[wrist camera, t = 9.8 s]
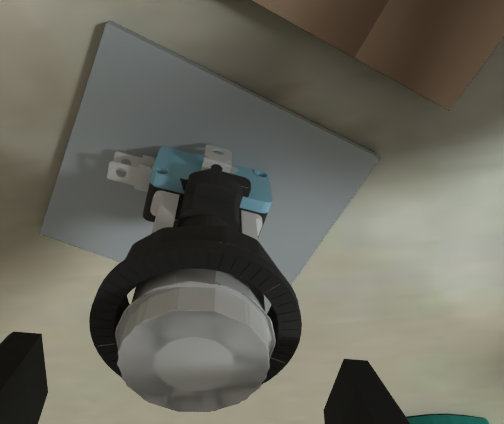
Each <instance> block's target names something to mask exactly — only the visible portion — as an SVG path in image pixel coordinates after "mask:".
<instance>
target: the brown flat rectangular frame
mask: <svg viewBox="0 0 504 424" xmlns="http://www.w3.org/2000/svg"><path fill="white" fill-rule="evenodd" d="M252 1H254V2H256V3H257V4H259V5H261V6H263V7H265V8H266V9H268V10H270V11H272V12H274V13H275V14H277V15H279V16H281V17H282V18H284V19H286V20H288V21H290V22H291V23H293V24H295V25H297V26H298V27H300V28H302V29H304V30H306V31H307V32H309V33H311V34H313V35H315V36H316V37H318V38H320V39H322V40H323V41H325V42H327V43H329V44H331V45H332V46H334V47H336V48H338V49H339V50H341V51H343V52H345V53H347V54H348V55H350V56H352V57H354V58H356V59H357V60H359V61H361V62H363V63H364V64H366V65H368V66H370V67H372V68H373V69H375V70H377V71H379V72H380V73H382V74H384V75H386V76H388V77H389V78H391V79H393V80H395V81H397V82H398V83H400V84H402V85H404V86H405V87H407V88H409V89H411V90H413V91H414V92H416V93H418V94H420V95H421V96H423V97H425V98H427V99H429V100H430V101H432V102H434V103H436V104H438V105H439V106H441V107H443V108H445V109H446V110H448V111H449V110H450V108H451V107H452V106H453V104H454V103H455V102H456V100H457V99H458V98H459V96H460V95H461V94H462V92H463V91H464V90H465V88H466V87H467V86H468V84H469V83H470V81H471V80H472V79H473V77H474V76H475V75H476V73H477V72H478V71H479V69H480V68H481V67H482V65H483V64H484V63H485V61H486V60H487V59H488V57H489V56H490V55H491V53H492V52H493V51H494V49H495V48H496V47H497V45H498V44H499V43H500V41H501V40H502V38H503V37H504V0H252Z"/></svg>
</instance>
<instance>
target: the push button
mask: <svg viewBox="0 0 504 424" xmlns="http://www.w3.org/2000/svg"><path fill="white" fill-rule="evenodd" d="M213 151H219V152H221V153H223V154H224V155H218V154H216V153H214V152H213ZM204 156H205V157H204ZM204 156H201V155H197V154H193V153H189V152H186V151H182V150H178V149H174V148H171V147H161V148H160V149H159V152H158V155H157V158H154V157H150V156H147V155H143V157H142V158H141V157H137V156H133V155H129V154H126V153H122V152H118V151H117V152H115V154H114V160H113V161H111V162H109V167H108V174H107V178H108V179H110V180H114V181H118V182H122V183H126V184H130V185H134V189H137V190H141V191H145V192H147V196H146V201H145V206H144V210H143V215H142V216H143V218H144V219H145V220H147V221H150V222H154V225H153V229H152V232H151V234H150V235H148V236H146V237H145V238H143V239H141V240H139V241H137V242H136V243H134V244H133V245H132V247H131V248H130V250H129V252H128V254H127V256H126V258H125V260H123V261H122V262H121V263H119V264H118V265H117V266H116V267H115V268H114V269H113V270H112V271H111V272H110V273H109V274H108V275H107V276H106V278H105V279H104V280H103V282H102V284H101V285H100V287H99V289H98V292H97V294H96V297H95V299H94V302H93V304H92V308H91V312H90V321H89V322H90V332H91V337H92V340H93V343H94V346H95V347H96V349H97V351H98V353H99V355H100V356H101V358H102V359H103V360H104V361H105V363H106V364H107V365H108V366H109V367H110V368H111V369H112V370H113V371H114V372H115V373H117V374H118V375H119V376H121V377H122V379H123V380H124V381H125V382H126V385H127V386H128V387H129V388H131V389H132V390H133V391H134V392H136V393H137V394H138V395H140V396H141V397H142V398H143V399H144V400H146V401H148V402H149V403H152V404H155V405H159V406H162V407H165V408H168V409H172V410H175V411H183V412H210V411H216V410H218V409H221V408H224V407H228V406H231V405H235V404H238V403H240V402H241V401H243V400H245V399H247V398H248V397H249V396H250V395H251V394H252V393H253V392H255V391H256V390H257V389H259V388H260V386H261V385H262V384H263V383H265V382H267V381H268V380H270V379H271V378H272V377H274V376H275V375H276V374H277V373H279V372H280V371H281V370H282V369H283V368H284V367H285V366H286V364H287V363H288V362H289V361H290V359H291V358H292V356H293V355H294V353H295V351H296V349H297V346H298V344H299V341H300V336H301V327H302V323H301V315H300V309H299V305H298V300H297V298H296V295H295V292H294V290H293V289H292V287H291V285H290V283H289V282H288V281H287V279H286V278H285V277H284V276H283V274H282V273H281V272H280V270H279V269H278V268H277V266H276V265H275V263H274V262H273V261H272V259H271V258H270V256H269V255H268V254H267V252H266V251H265V250H264V248H263V247H262V245H261V244H260V243H259V241H258V238H259V235H260V232H261V230H262V227H263V224H264V222H265V219H266V217H267V214H268V211H269V208H270V206H271V203H272V200H273V199H272V193H271V187H270V181H269V180H270V179H269V176H268V174H267V173H265V172H263V171H260V170H256V169H254V170H253V169H249V168H246V167H242V166H238V165H234V164H231V162H232V152H231V151H230V150H228V149H225V148H221V147H218V146H214V145H206V147H205V154H204ZM123 159H128V160H129V161H130V162H131V165H127V164H123V163H121V161H122V160H123ZM116 170H119V171H123V172H126V173H127V174H126V176H125V177H120V176H118V175H117V173H116ZM135 287H136V289H135V293H134V296H133V300H132V303H131V304H129V302H128V298H127V294H128V293H129V292H130V291H131V290H132V289H133V288H135ZM264 295H265V297H266V298H267V299H268V300H269V301H270V303H271V307H270V309H269V311H268V313H267V314H266V313H265V303H264Z"/></svg>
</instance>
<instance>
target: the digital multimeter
mask: <svg viewBox="0 0 504 424" xmlns="http://www.w3.org/2000/svg"><path fill="white" fill-rule="evenodd" d="M407 419H408V421H409V422H410V424H489V422H488V421H487V420H486V419H484V418H478V417H471V416H459V415H426V416H418V417H410V418H407Z"/></svg>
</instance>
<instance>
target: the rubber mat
mask: <svg viewBox="0 0 504 424" xmlns="http://www.w3.org/2000/svg"><path fill="white" fill-rule="evenodd" d="M206 145H214V146H218V147H221V148H225V149H228V150H230V151H231V152H232V162H231V164H234V165H238V166H242V167H246V168H249V169H253V170H254V169H256V170H260V171H263V172H265V173H267V174H268V176H269V179H270V180H269V181H270V187H271V193H272V199H273V200H272V203H271V206H270V208H269V211H268V214H267V217H266V219H265V222H264V224H263V227H262V230H261V232H260V235H259V238H258V241H259V243H260V244H261V245H262V247H263V248H264V250H265V251H266V252H267V254H268V255H269V256H270V258H271V259H272V261H273V262H274V263H275V265H276V266H277V268H278V269H279V270H280V272H281V273H282V274H283V276H284V277H285V278H286V279H287V281H288V282H289V283H290V285H291V284H292V283H293V281H294V280H295V279H296V277H297V276H298V274H299V273H300V271H301V270H302V269H303V267H304V266H305V264H306V263H307V262H308V260H309V259H310V257H311V256H312V254H313V253H314V252H315V250H316V249H317V247H318V246H319V244H320V243H321V242H322V240H323V239H324V237H325V236H326V235H327V233H328V232H329V230H330V229H331V227H332V226H333V225H334V223H335V222H336V220H337V219H338V217H339V216H340V215H341V213H342V212H343V210H344V209H345V208H346V206H347V205H348V203H349V202H350V200H351V199H352V198H353V196H354V195H355V193H356V192H357V190H358V189H359V188H360V186H361V185H362V183H363V182H364V181H365V179H366V178H367V176H368V175H369V173H370V172H371V171H372V169H373V168H374V166H375V165H376V163H377V162H378V161H379V159H380V157H379V156H378V155H377V154H376V153H374V152H372V151H370V150H368V149H366V148H364V147H362V146H360V145H358V144H356V143H354V142H352V141H350V140H348V139H346V138H344V137H342V136H340V135H338V134H336V133H334V132H332V131H330V130H328V129H326V128H324V127H322V126H320V125H318V124H316V123H314V122H312V121H310V120H308V119H306V118H304V117H302V116H300V115H298V114H296V113H294V112H292V111H290V110H288V109H286V108H284V107H282V106H280V105H278V104H276V103H274V102H272V101H270V100H268V99H266V98H264V97H262V96H260V95H258V94H256V93H254V92H252V91H250V90H248V89H246V88H244V87H242V86H240V85H238V84H236V83H234V82H232V81H230V80H228V79H226V78H224V77H222V76H220V75H218V74H216V73H214V72H212V71H210V70H208V69H206V68H204V67H202V66H200V65H198V64H196V63H194V62H192V61H190V60H188V59H186V58H184V57H182V56H180V55H178V54H176V53H174V52H172V51H170V50H168V49H166V48H164V47H162V46H160V45H158V44H156V43H154V42H152V41H150V40H148V39H146V38H144V37H142V36H140V35H138V34H136V33H134V32H132V31H130V30H128V29H126V28H124V27H122V26H120V25H118V24H116V23H114V22H112V21H108V22H106V25H105V29H104V32H103V35H102V38H101V41H100V44H99V48H98V51H97V54H96V57H95V60H94V63H93V66H92V70H91V73H90V76H89V79H88V82H87V85H86V88H85V92H84V95H83V98H82V101H81V104H80V107H79V111H78V114H77V117H76V120H75V123H74V126H73V129H72V133H71V136H70V139H69V142H68V145H67V148H66V151H65V155H64V158H63V161H62V164H61V167H60V170H59V174H58V177H57V180H56V183H55V186H54V189H53V192H52V196H51V199H50V202H49V205H48V208H47V211H46V214H45V218H44V221H43V224H42V227H41V230H40V233H39V234H41V235H44V236H47V237H50V238H53V239H56V240H58V241H61V242H64V243H67V244H70V245H73V246H76V247H78V248H81V249H84V250H87V251H90V252H93V253H96V254H98V255H101V256H104V257H107V258H110V259H113V260H116V261H118V262H122V261H123V260H125V258H126V256H127V254H128V252H129V250H130V248H131V247H132V245H133V244H134V243H136V242H137V241H139V240H141V239H143V238H145V237H146V236H148V235H150V234H151V232H152V229H153V225H154V222H150V221H147V220H145V219H144V218H143V216H142V215H143V210H144V206H145V201H146V196H147V192H145V191H141V190H137V189H134V185H130V184H126V183H122V182H118V181H114V180H110V179H108V178H107V174H108V167H109V162H111V161H113V160H114V154H115V152H117V151H118V152H122V153H126V154H129V155H133V156H137V157H141V158H142V157H143V155H147V156H150V157H154V158H157V155H158V152H159V149H160V148H161V147H171V148H174V149H178V150H182V151H186V152H189V153H193V154H197V155H201V156H204V154H205V147H206ZM213 152H214V153H216V154H218V155H224V154H223V153H221V152H219V151H213ZM204 157H205V156H204ZM121 163H123V164H127V165H131V162H130V161H129V160H128V159H123V160H122V161H121ZM116 173H117V175H118V176H120V177H125V176H126V174H127V173H126V172H123V171H119V170H116ZM264 303H265V313H268V311H269V309H270V307H271V303H270V301H269V300H268V299H267V298H266V297H265V295H264Z"/></svg>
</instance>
